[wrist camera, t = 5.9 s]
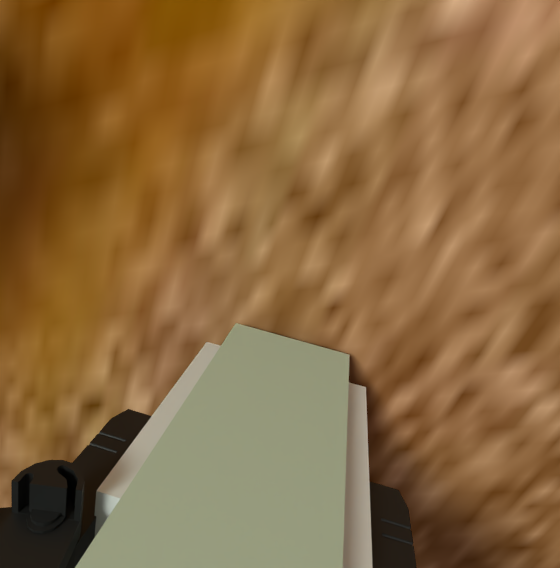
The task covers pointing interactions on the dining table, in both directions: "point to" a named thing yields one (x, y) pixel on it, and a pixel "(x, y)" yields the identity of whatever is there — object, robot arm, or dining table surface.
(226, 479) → the sage green mallet
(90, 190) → the dining table surface
